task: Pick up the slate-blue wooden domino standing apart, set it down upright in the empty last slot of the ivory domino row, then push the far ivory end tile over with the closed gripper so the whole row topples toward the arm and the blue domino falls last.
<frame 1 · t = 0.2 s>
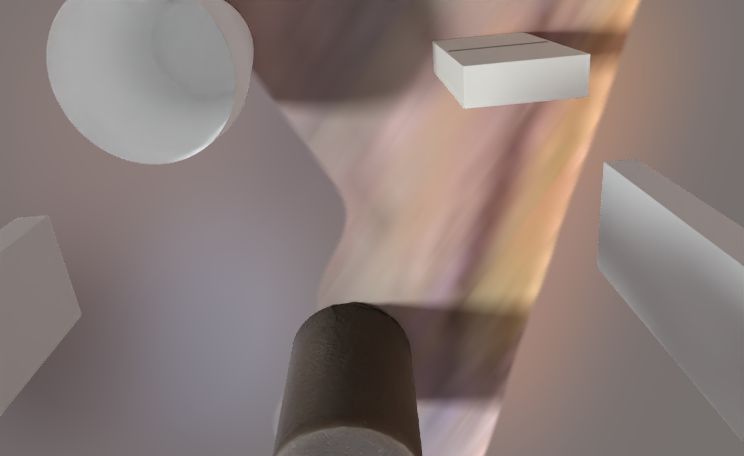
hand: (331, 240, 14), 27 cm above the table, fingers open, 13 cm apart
pillar candle: (349, 352, 48), on the table
cup: (204, 47, 39), on the table
domino 1: (478, 52, 39), on the table
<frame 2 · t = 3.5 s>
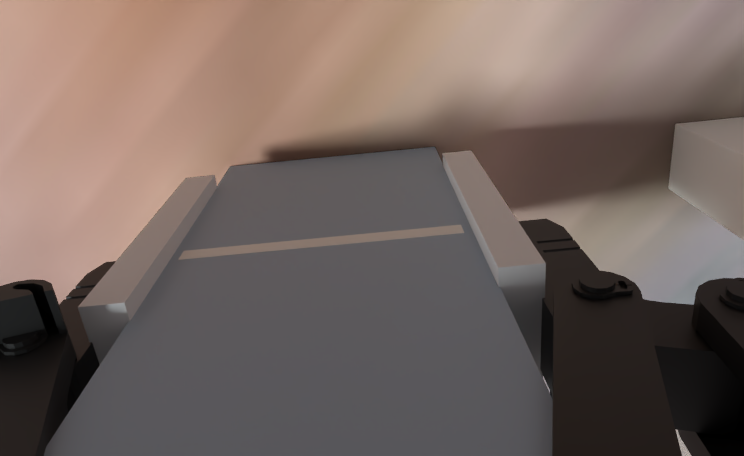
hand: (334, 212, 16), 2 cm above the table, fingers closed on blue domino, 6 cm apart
blue domino: (336, 188, 18), on the table, touching gripper
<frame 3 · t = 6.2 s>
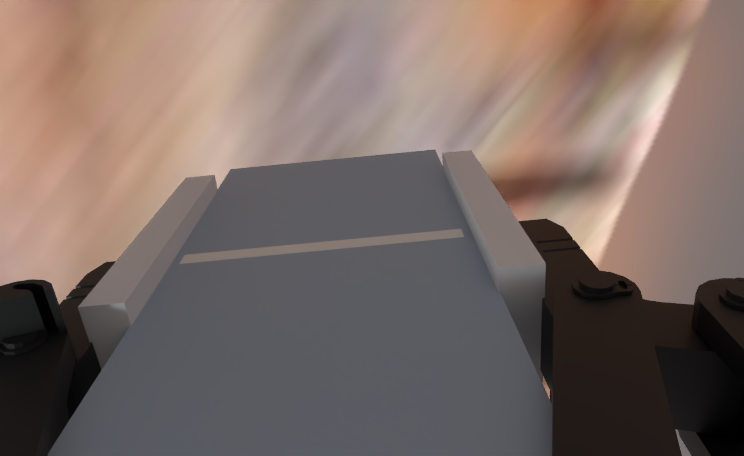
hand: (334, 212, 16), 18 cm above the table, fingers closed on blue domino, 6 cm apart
blue domino: (336, 191, 18), point 16 cm above the table, touching gripper
when the fingers open (3 cm above the table, at t = 9.1 s): blue domino stays where it is, on the table.
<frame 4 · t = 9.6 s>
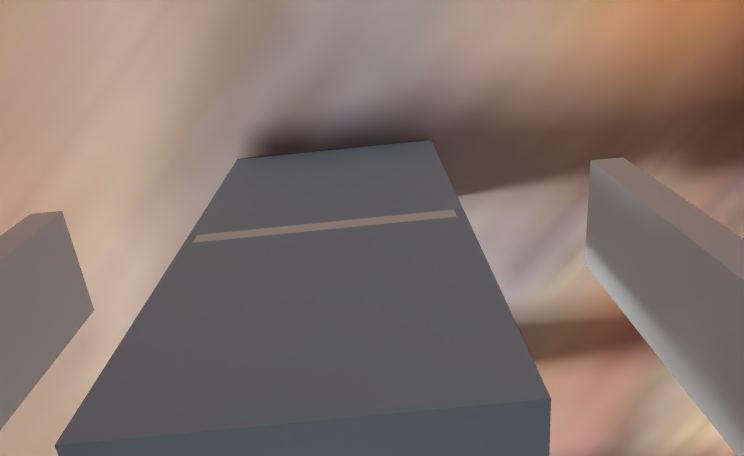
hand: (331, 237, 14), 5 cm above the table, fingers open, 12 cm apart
blue domino: (337, 180, 18), on the table
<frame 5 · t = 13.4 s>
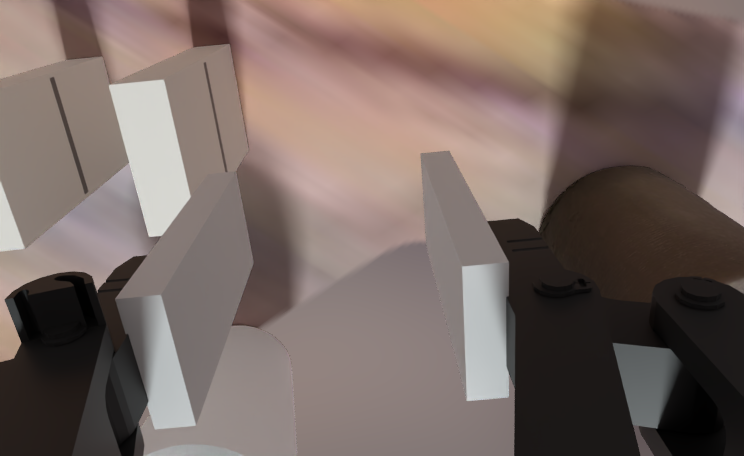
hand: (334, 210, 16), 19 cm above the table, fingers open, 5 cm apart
pillar candle: (613, 237, 37), on the table
cup: (244, 363, 41), on the table
domino 2: (99, 112, 33), on the table
domino 1: (222, 100, 33), on the table
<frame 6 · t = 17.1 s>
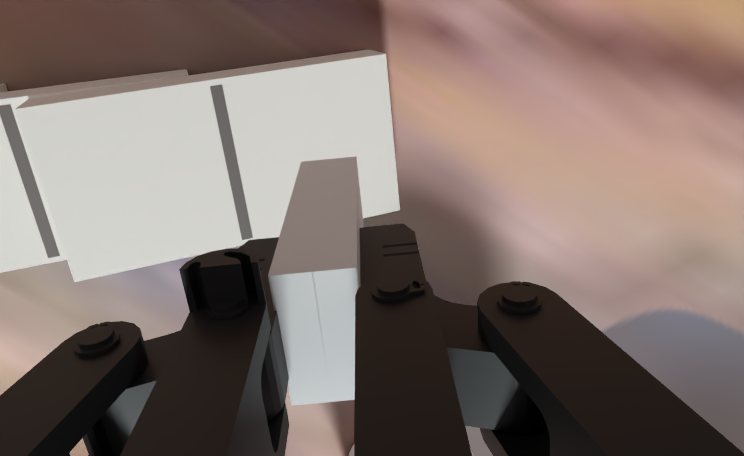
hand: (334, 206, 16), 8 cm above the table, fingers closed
domino 2: (203, 150, 23), point 1 cm above the table, tilted 73°, touching domino 1, domino 3
domino 1: (384, 130, 23), point 1 cm above the table, tilted 73°, touching domino 2
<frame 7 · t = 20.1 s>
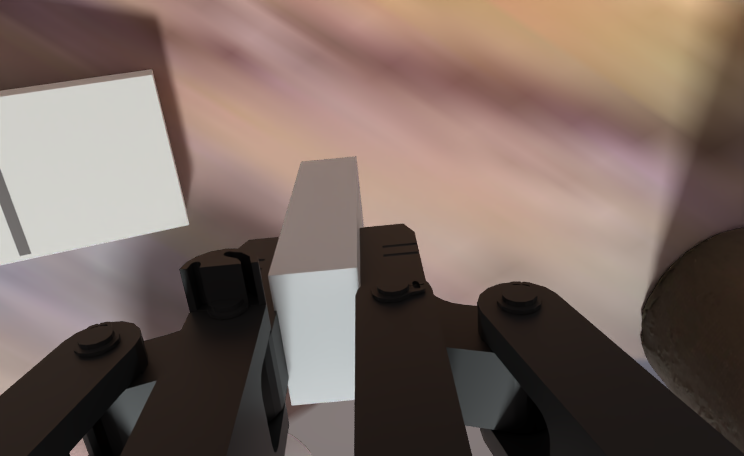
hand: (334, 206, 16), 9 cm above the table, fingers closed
pillar candle: (737, 312, 29), on the table
domino 1: (170, 148, 24), point 1 cm above the table, tilted 73°, touching domino 2
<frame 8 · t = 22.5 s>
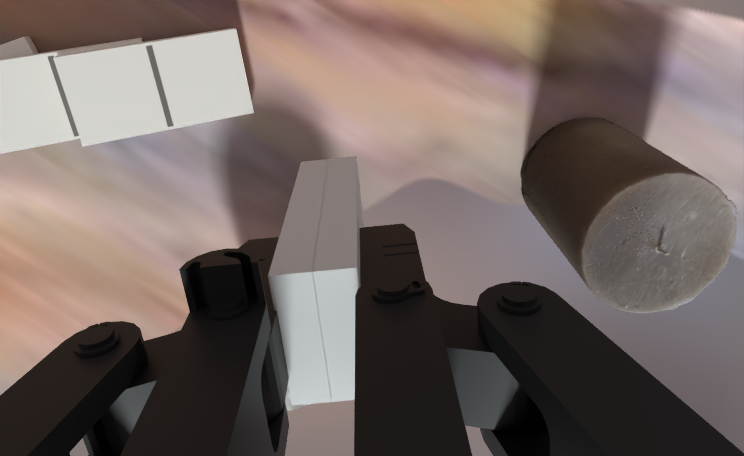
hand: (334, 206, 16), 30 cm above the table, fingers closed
pillar candle: (579, 175, 48), on the table
domino 2: (152, 80, 43), point 1 cm above the table, tilted 72°, touching domino 1, domino 3
domino 1: (243, 70, 43), point 1 cm above the table, tilted 72°, touching domino 2
domino 3: (49, 76, 43), point 1 cm above the table, tilted 72°, touching domino 2, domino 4
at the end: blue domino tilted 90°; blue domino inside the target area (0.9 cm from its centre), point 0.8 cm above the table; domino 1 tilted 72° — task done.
